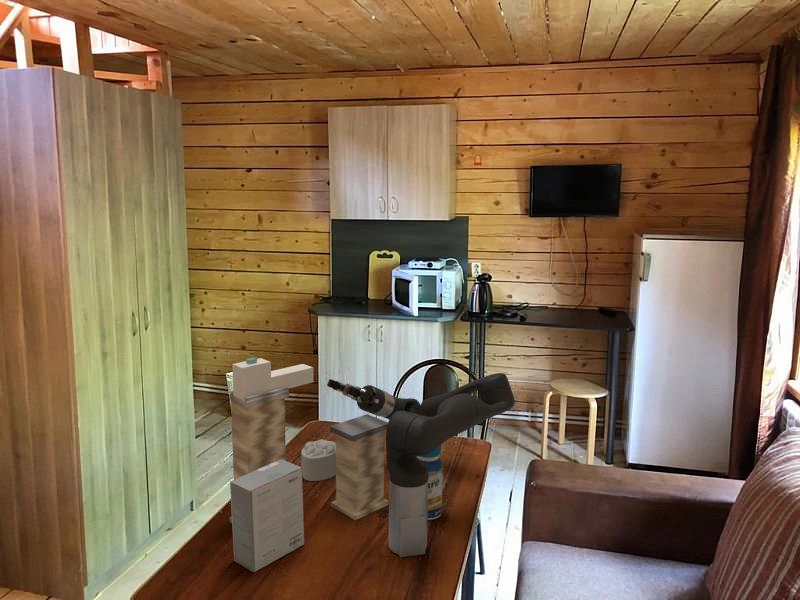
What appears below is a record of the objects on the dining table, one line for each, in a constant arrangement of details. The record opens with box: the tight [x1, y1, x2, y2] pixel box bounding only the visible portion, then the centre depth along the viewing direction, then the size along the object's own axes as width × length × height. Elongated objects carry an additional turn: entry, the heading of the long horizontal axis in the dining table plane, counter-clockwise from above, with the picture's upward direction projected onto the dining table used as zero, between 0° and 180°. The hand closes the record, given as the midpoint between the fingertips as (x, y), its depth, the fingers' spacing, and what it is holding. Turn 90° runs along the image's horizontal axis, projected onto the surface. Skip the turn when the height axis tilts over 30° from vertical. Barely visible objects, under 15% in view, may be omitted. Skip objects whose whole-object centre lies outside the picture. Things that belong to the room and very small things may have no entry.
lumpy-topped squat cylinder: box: [300, 438, 336, 482], centre depth 197 cm, size 10×13×9 cm
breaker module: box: [231, 357, 314, 400], centre depth 166 cm, size 21×4×9 cm, turn 135°
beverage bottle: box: [416, 444, 444, 521], centre depth 172 cm, size 8×8×20 cm
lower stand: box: [329, 414, 389, 521], centre depth 175 cm, size 13×10×23 cm
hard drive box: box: [229, 459, 305, 573], centre depth 153 cm, size 16×8×20 cm, turn 141°
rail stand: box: [229, 387, 290, 524], centre depth 166 cm, size 13×9×35 cm
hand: (338, 386), depth 182 cm, fingers open, 8 cm apart
